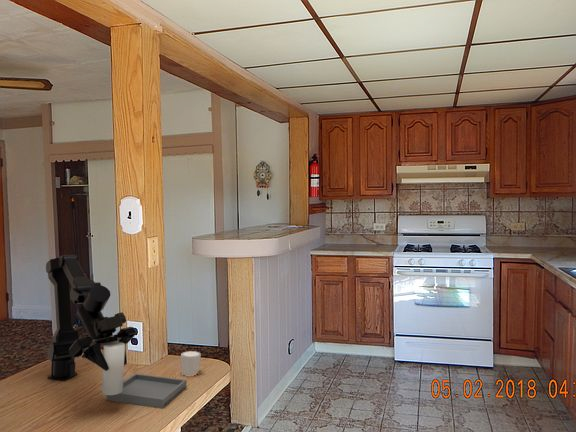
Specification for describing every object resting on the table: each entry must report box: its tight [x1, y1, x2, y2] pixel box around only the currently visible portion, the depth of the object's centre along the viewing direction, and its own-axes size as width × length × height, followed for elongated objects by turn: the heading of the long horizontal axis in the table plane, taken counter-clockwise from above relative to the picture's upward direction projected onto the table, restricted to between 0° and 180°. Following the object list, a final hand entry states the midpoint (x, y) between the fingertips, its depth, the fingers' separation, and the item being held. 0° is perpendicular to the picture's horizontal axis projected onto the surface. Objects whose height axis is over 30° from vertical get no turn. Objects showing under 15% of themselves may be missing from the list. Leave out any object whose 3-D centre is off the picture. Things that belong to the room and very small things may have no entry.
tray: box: [105, 373, 187, 409], centre depth 141 cm, size 18×16×2 cm
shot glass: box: [180, 350, 202, 376], centre depth 160 cm, size 7×7×7 cm
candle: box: [101, 342, 125, 396], centre depth 129 cm, size 6×6×13 cm
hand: (116, 367), depth 128 cm, fingers closed on candle, 6 cm apart
